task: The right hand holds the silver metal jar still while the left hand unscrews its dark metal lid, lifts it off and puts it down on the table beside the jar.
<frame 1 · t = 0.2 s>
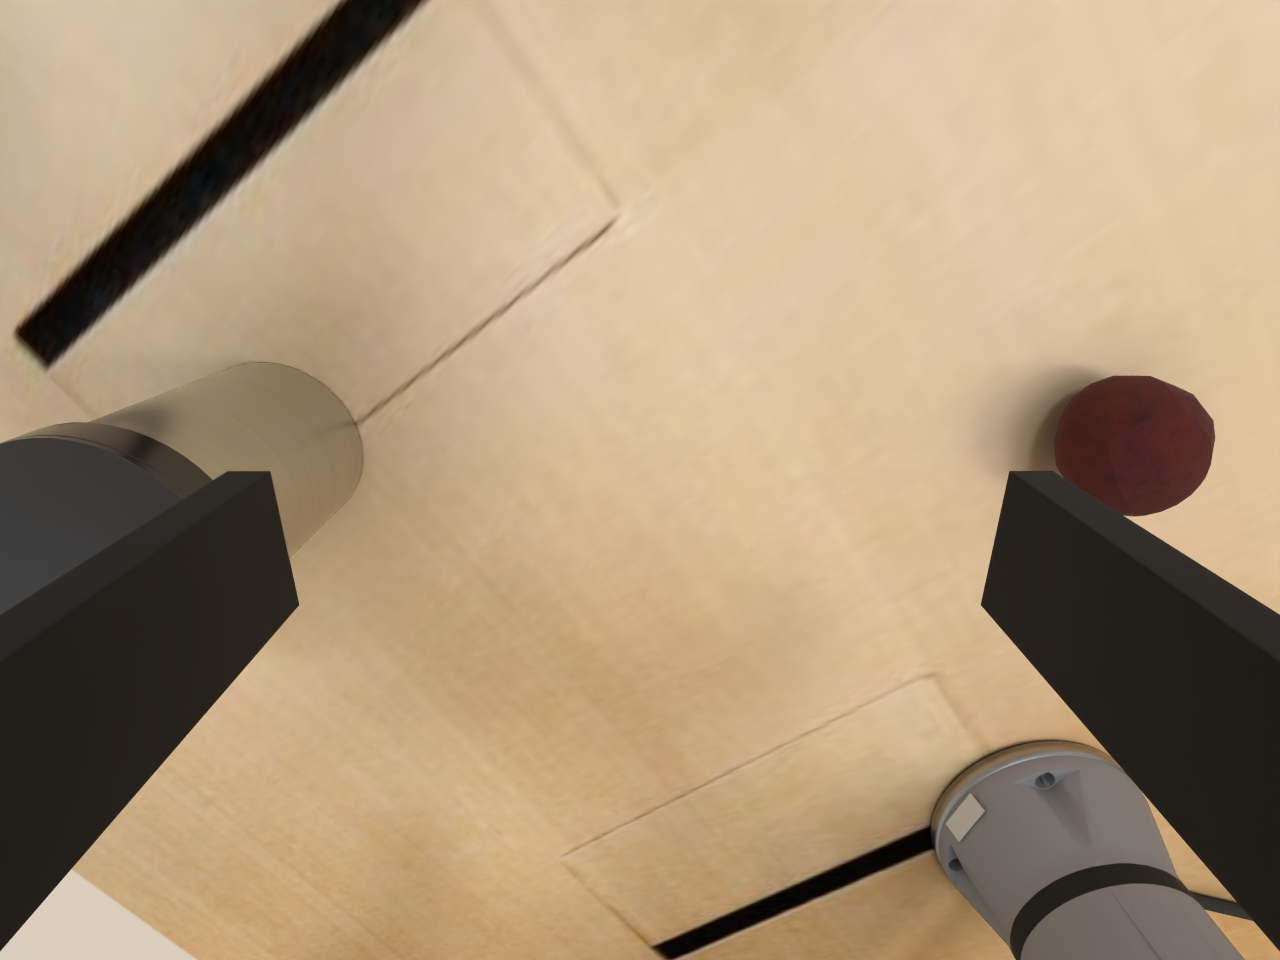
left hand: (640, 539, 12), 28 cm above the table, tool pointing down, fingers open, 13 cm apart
lid: (91, 567, 27), point 15 cm above the table, screwed on, not yet turned
plum: (1089, 423, 41), on the table
jar: (278, 445, 41), on the table
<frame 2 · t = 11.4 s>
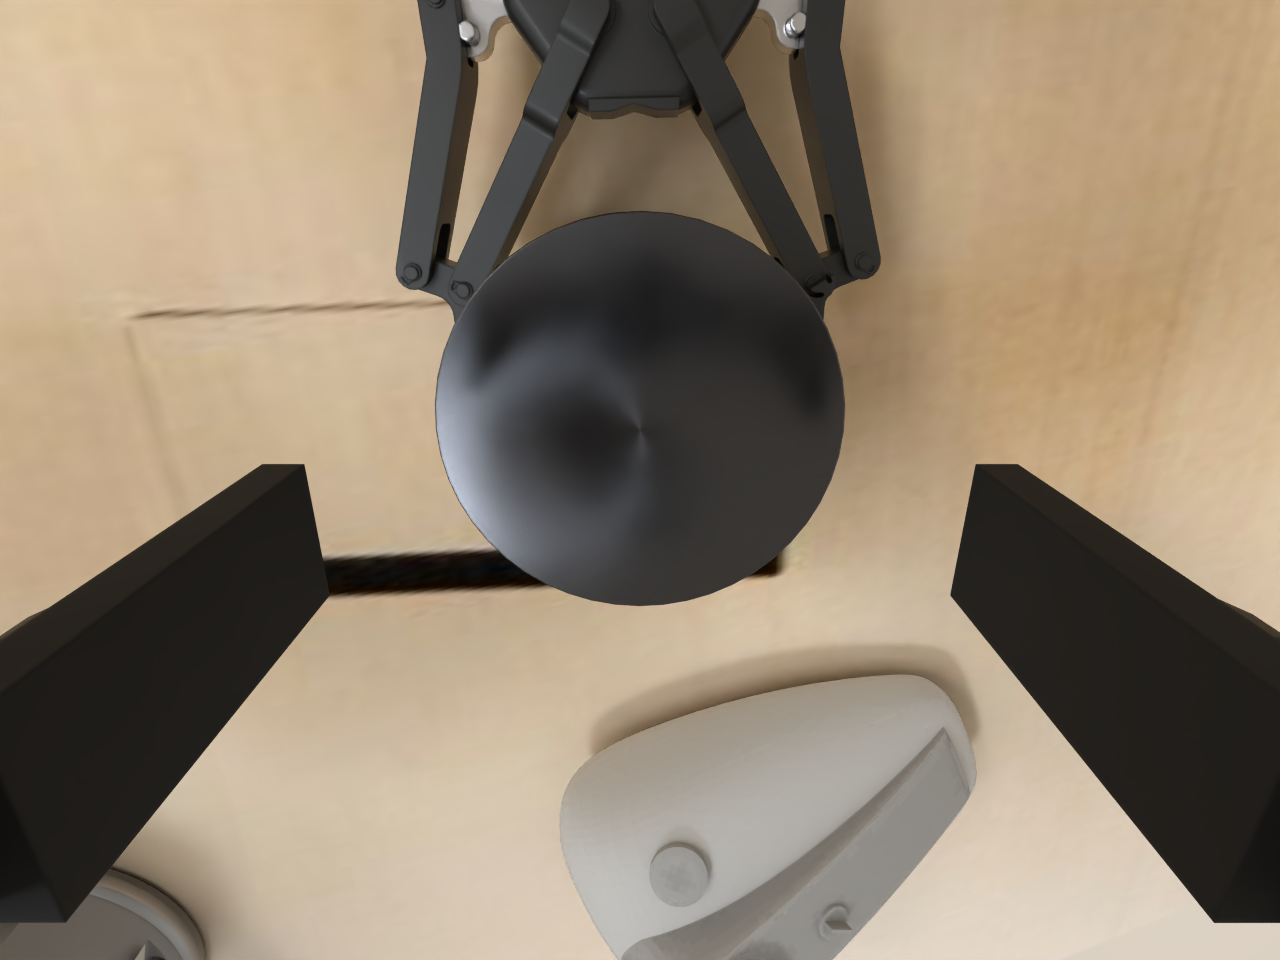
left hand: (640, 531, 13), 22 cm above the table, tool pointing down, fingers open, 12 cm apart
right hand: (642, 459, 29), fingers closed on jar, 10 cm apart
lid: (639, 426, 19), point 15 cm above the table, screwed on, not yet turned
projector: (765, 764, 43), on the table
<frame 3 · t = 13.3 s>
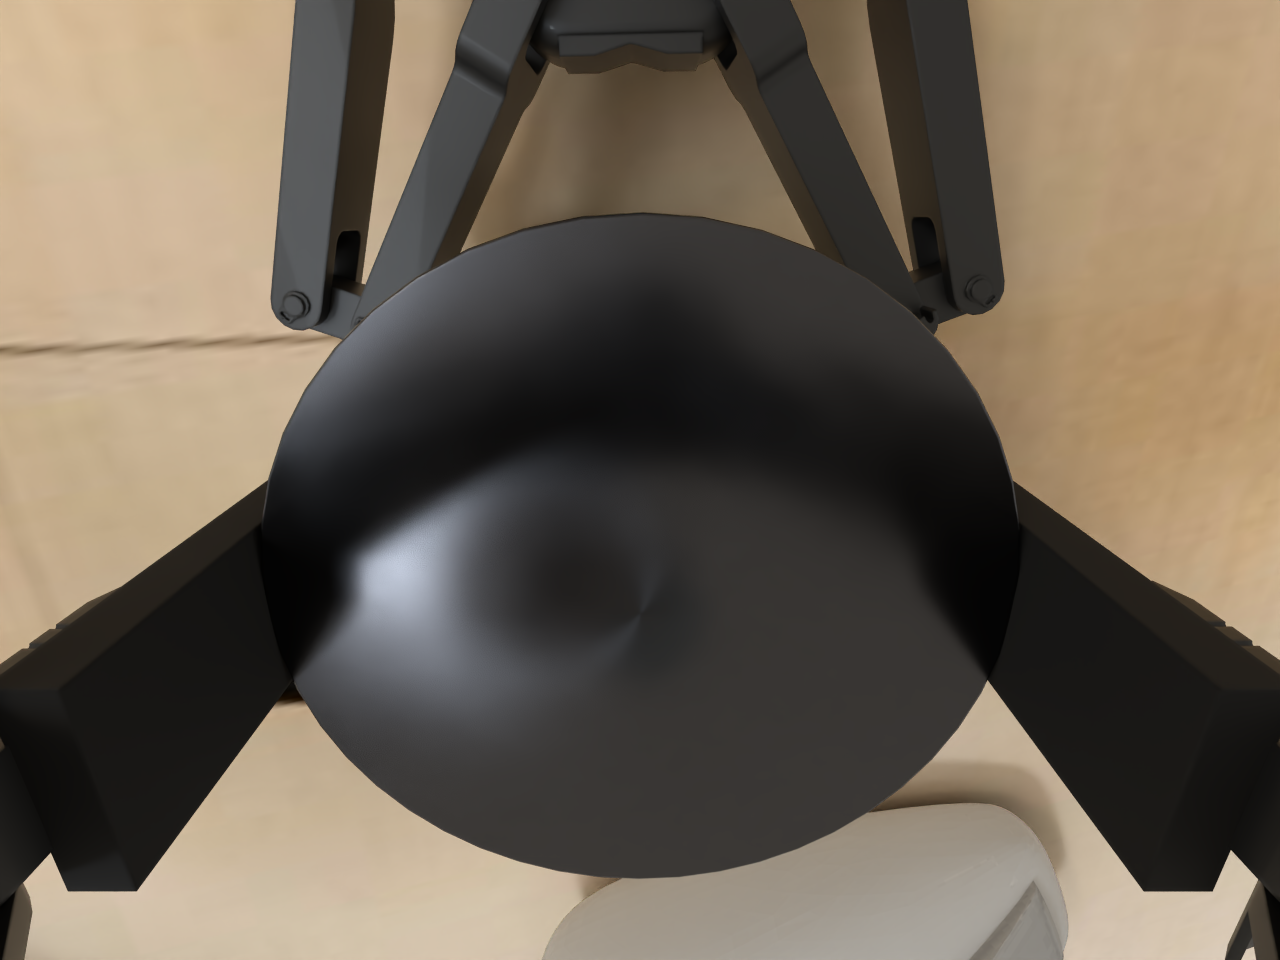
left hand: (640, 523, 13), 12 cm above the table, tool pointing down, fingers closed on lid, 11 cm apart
lid: (640, 601, 10), point 15 cm above the table, screwed on, not yet turned, touching left hand
projector: (796, 900, 34), on the table
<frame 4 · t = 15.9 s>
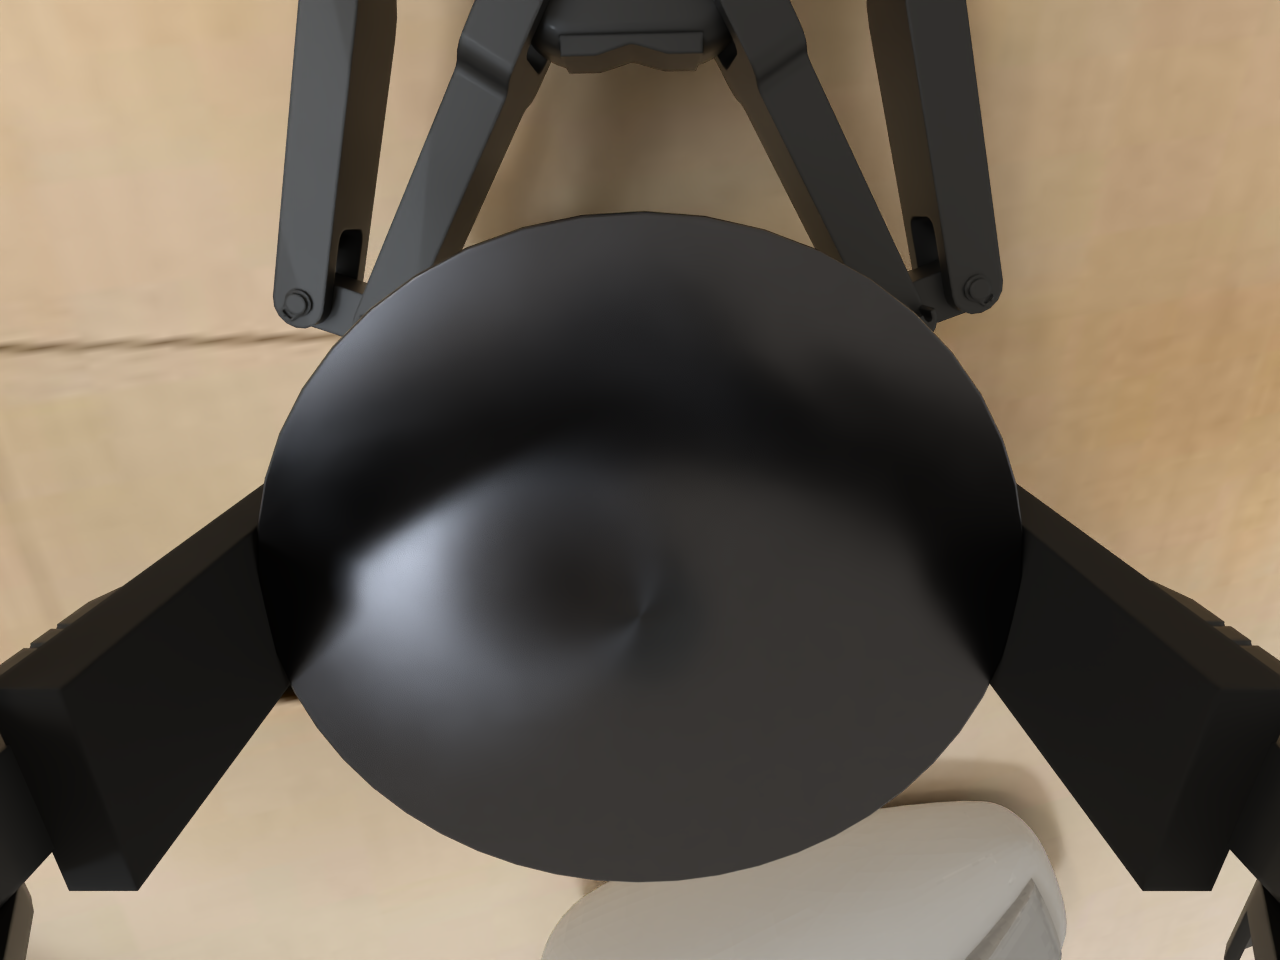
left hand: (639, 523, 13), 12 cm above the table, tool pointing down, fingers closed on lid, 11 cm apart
lid: (639, 603, 10), point 15 cm above the table, turned 67° so far, risen 0.2 cm, still on its thread, touching left hand
projector: (795, 897, 34), on the table
when the left hand's fingers open (1 cm above the table, at t = 22.7 s): lid drops 2 cm, point 2 cm above the table.
when the right hand's fingers open (6 cm above the table, at t = 23.7 s): jar stays where it is, on the table.
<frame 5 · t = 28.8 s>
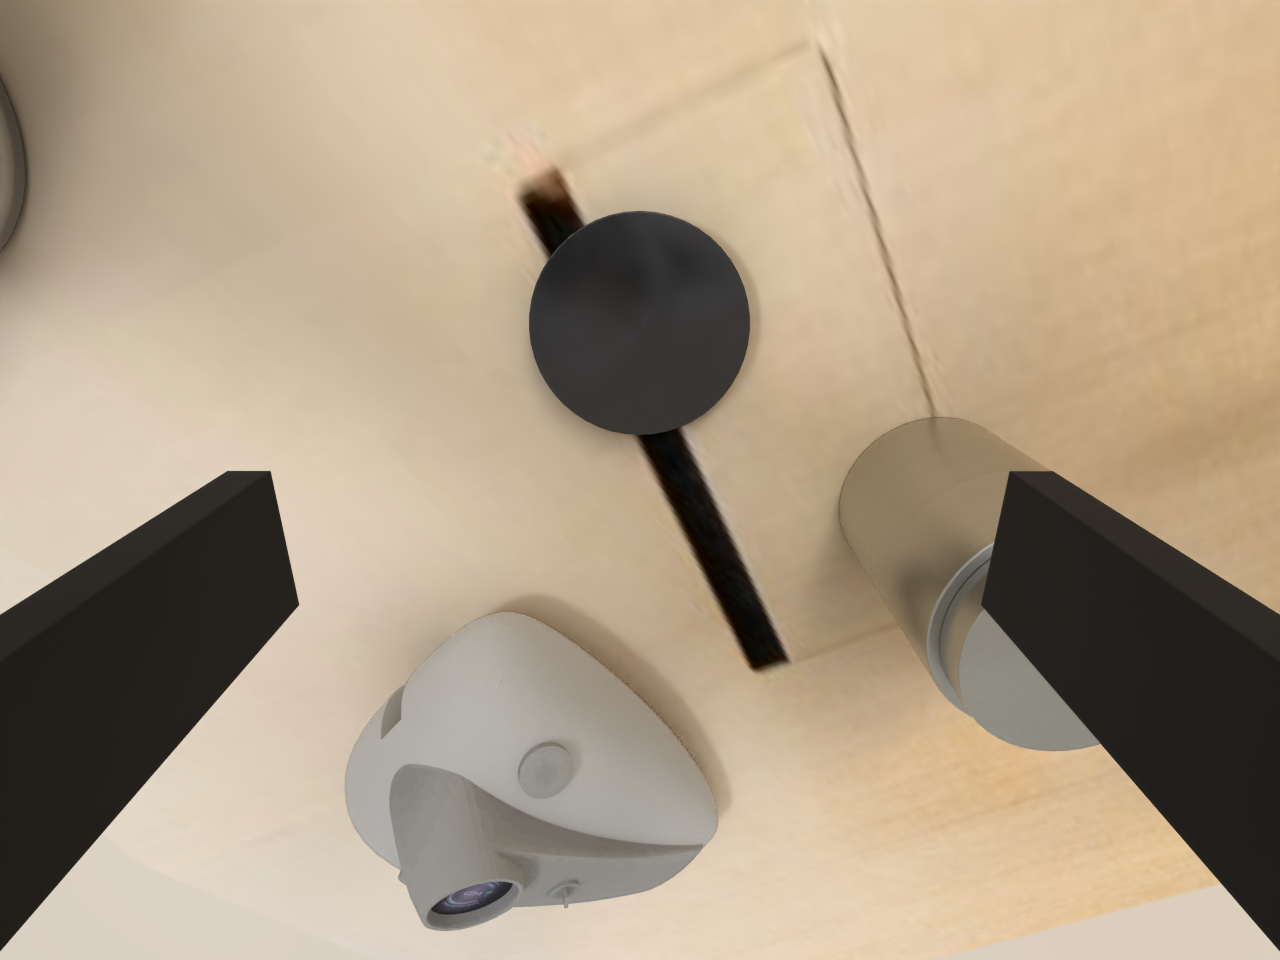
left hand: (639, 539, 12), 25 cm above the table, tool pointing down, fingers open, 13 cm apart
lid: (639, 328, 35), point 2 cm above the table, off its thread
projector: (565, 735, 46), on the table
jar: (926, 500, 40), on the table
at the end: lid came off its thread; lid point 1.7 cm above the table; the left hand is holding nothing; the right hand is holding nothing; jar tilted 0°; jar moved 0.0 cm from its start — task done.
